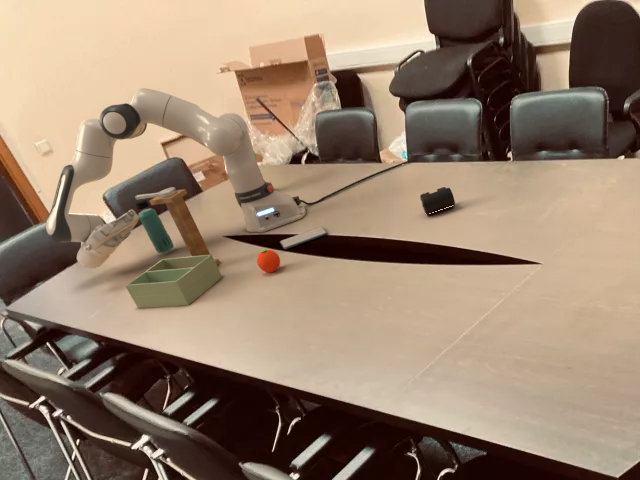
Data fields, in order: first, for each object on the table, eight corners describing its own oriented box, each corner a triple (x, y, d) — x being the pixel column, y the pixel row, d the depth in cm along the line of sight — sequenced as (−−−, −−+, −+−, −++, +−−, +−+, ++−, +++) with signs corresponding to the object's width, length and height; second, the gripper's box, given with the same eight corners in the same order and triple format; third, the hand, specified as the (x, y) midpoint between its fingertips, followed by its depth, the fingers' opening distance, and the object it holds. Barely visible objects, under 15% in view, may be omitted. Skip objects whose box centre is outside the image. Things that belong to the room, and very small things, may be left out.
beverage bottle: (170, 255, 259) (143, 203, 248) (155, 257, 261) (127, 206, 250) (179, 247, 264) (153, 196, 254) (165, 250, 266) (138, 199, 255)
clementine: (260, 270, 226) (251, 249, 222) (281, 262, 228) (273, 242, 224) (263, 278, 220) (253, 257, 216) (285, 270, 221) (276, 249, 217)
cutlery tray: (138, 308, 223) (125, 285, 218) (174, 280, 236) (162, 258, 232) (188, 305, 215) (176, 281, 211) (222, 276, 229) (211, 254, 225)
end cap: (428, 219, 231) (422, 199, 227) (423, 213, 237) (417, 193, 233) (457, 209, 232) (451, 189, 229) (451, 203, 238) (446, 184, 234)
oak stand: (186, 274, 238) (149, 200, 224) (199, 264, 244) (163, 192, 230) (208, 272, 235) (171, 197, 221) (220, 262, 241) (185, 189, 227)
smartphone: (327, 232, 239) (283, 247, 235) (328, 235, 240) (285, 250, 236) (321, 226, 246) (279, 241, 242) (322, 228, 246) (280, 243, 243)
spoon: (132, 202, 228) (129, 198, 227) (142, 195, 232) (140, 191, 231) (169, 197, 222) (167, 192, 222) (180, 190, 226) (178, 186, 226)
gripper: (75, 245, 235) (92, 223, 227) (118, 219, 251) (135, 198, 243) (91, 259, 237) (108, 238, 229) (133, 233, 253) (150, 212, 245)
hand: (123, 217), depth 236 cm, fingers open, 8 cm apart
